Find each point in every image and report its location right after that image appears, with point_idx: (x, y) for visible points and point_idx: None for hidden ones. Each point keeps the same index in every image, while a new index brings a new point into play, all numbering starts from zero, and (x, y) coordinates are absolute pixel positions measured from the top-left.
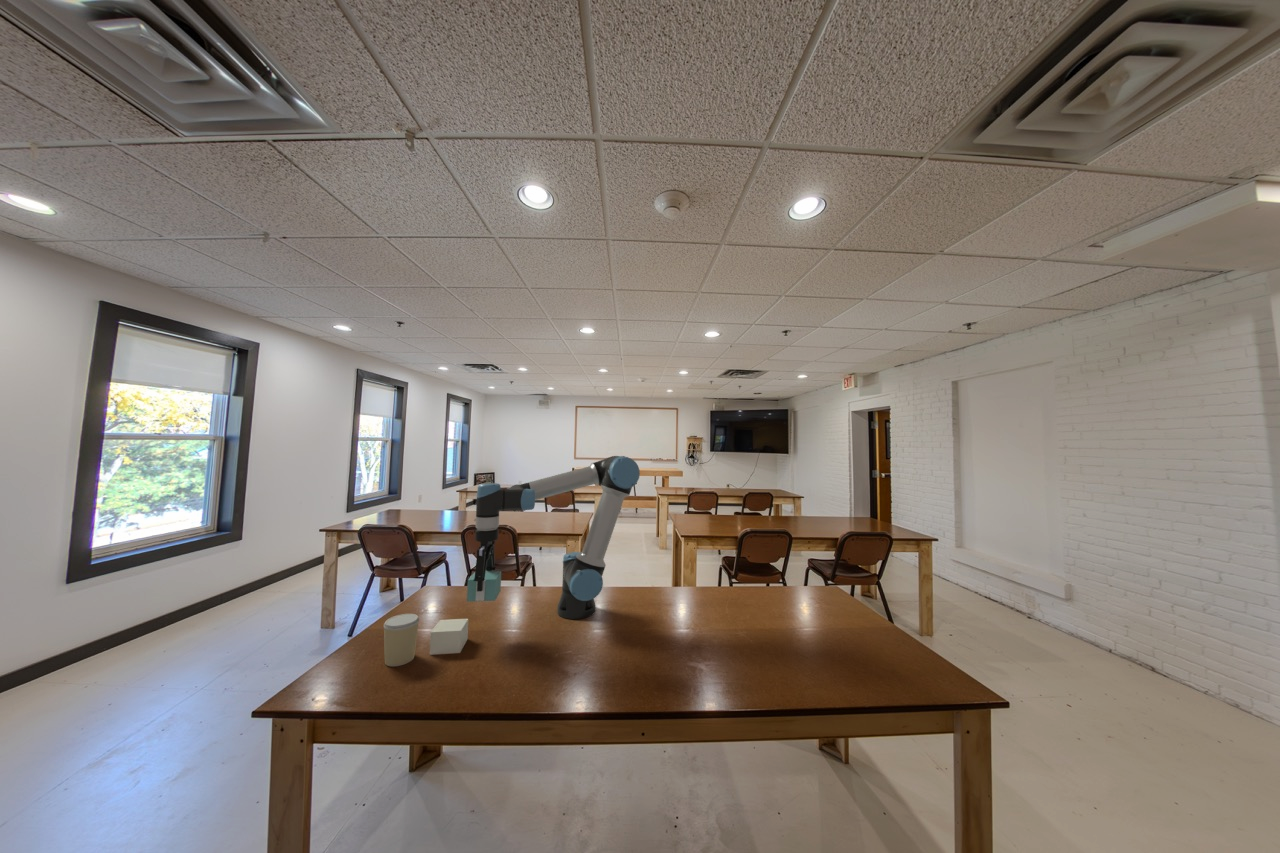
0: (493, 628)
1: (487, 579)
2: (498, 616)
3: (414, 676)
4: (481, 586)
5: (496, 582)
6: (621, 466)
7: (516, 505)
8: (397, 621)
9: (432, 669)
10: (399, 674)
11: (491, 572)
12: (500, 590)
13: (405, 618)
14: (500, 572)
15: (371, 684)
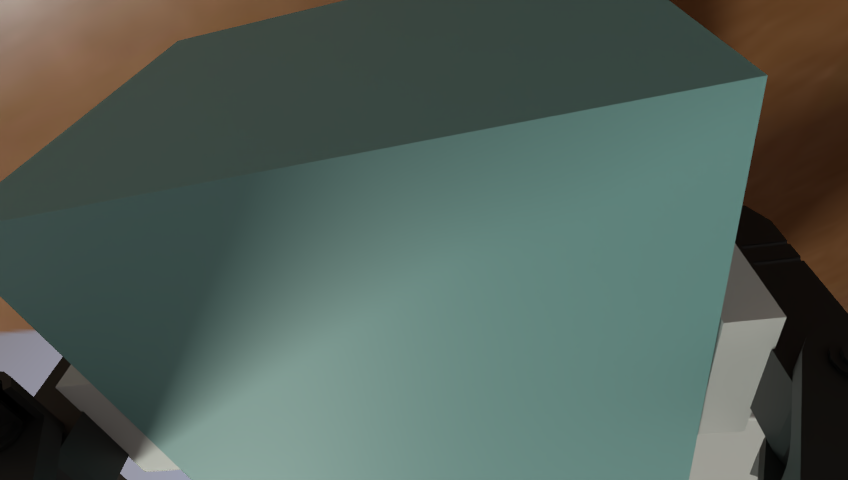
0: (267, 9)
1: (721, 294)
2: (85, 60)
3: (833, 178)
4: (807, 266)
5: (619, 47)
6: None
7: None
8: (736, 466)
9: (787, 131)
10: (787, 243)
11: (178, 377)
12: (176, 43)
13: (698, 455)
14: (51, 210)
15: (836, 292)
